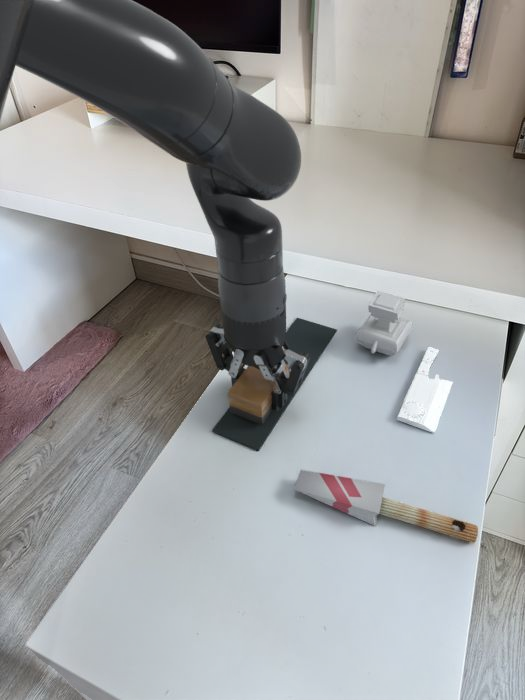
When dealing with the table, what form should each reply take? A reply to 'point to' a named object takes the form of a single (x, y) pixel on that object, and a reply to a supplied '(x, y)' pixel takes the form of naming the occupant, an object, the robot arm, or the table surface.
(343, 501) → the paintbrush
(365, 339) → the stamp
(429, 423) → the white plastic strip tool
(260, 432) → the mat
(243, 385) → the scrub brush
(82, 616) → the table surface
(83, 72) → the robot arm
